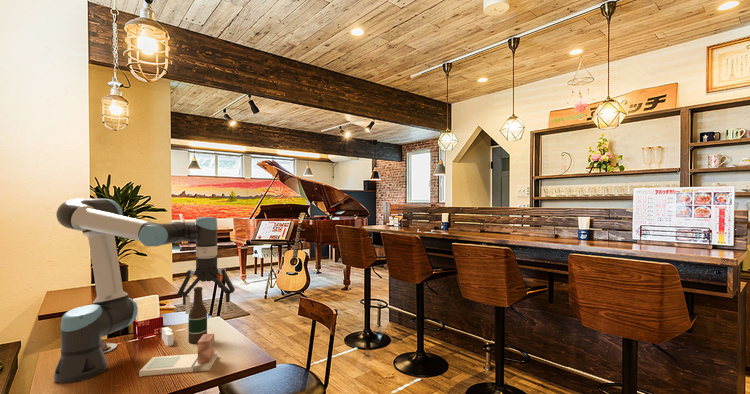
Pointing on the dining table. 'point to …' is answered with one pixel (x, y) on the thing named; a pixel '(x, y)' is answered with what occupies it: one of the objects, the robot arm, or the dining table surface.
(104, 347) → the pastry
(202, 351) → the stub
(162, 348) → the dining table surface
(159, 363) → the white flat block
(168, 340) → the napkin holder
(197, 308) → the beer bottle
